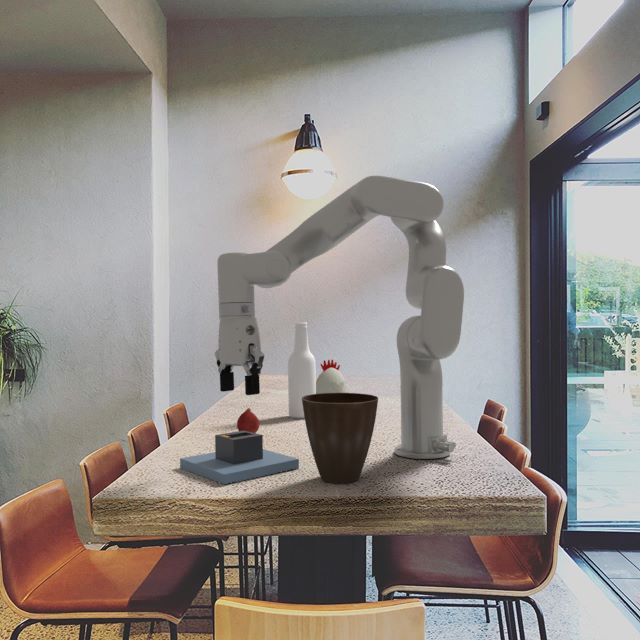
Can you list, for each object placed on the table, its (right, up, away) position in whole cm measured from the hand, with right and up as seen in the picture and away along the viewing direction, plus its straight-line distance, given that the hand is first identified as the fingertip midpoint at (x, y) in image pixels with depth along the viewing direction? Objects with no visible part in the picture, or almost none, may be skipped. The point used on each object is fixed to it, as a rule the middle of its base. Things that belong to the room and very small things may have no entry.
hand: (239, 392), depth 128 cm
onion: (-2, -16, +31) cm, 35 cm away
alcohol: (+11, -16, +65) cm, 68 cm away
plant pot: (+21, -16, -10) cm, 28 cm away
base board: (0, -16, 0) cm, 16 cm away
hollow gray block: (0, -14, 0) cm, 14 cm away
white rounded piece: (+21, -15, +109) cm, 112 cm away
